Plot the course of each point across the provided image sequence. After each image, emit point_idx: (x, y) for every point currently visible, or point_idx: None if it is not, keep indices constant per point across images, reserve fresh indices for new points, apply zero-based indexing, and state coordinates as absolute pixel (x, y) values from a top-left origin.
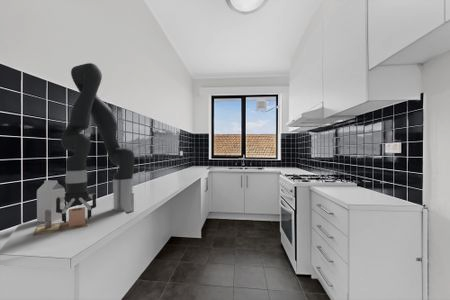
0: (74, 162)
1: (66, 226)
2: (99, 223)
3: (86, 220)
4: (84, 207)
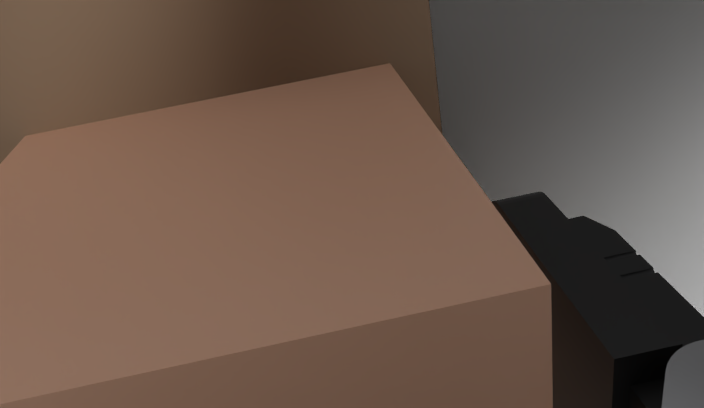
0: None
1: None
2: (656, 120)
3: (430, 50)
4: (544, 384)
